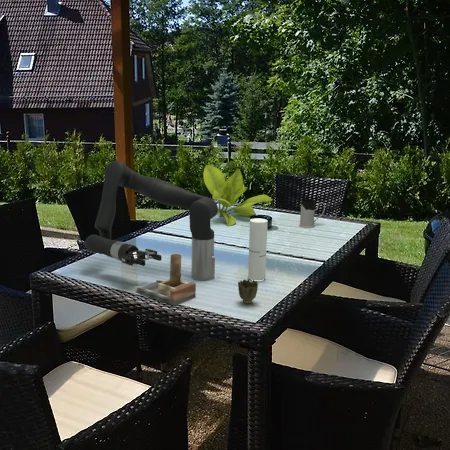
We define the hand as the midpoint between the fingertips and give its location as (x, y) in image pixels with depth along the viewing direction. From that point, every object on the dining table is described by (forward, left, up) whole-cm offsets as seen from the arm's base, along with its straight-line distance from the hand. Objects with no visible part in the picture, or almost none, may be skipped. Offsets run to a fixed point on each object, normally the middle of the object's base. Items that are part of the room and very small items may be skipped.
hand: (152, 260), depth 216 cm
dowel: (-7, +9, -9) cm, 15 cm away
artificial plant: (-55, -109, -12) cm, 123 cm away
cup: (-33, +18, -12) cm, 40 cm away
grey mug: (-96, -87, -12) cm, 131 cm away
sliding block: (-7, +8, -11) cm, 15 cm away
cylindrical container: (-43, -7, -12) cm, 46 cm away
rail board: (-4, +5, -12) cm, 14 cm away
